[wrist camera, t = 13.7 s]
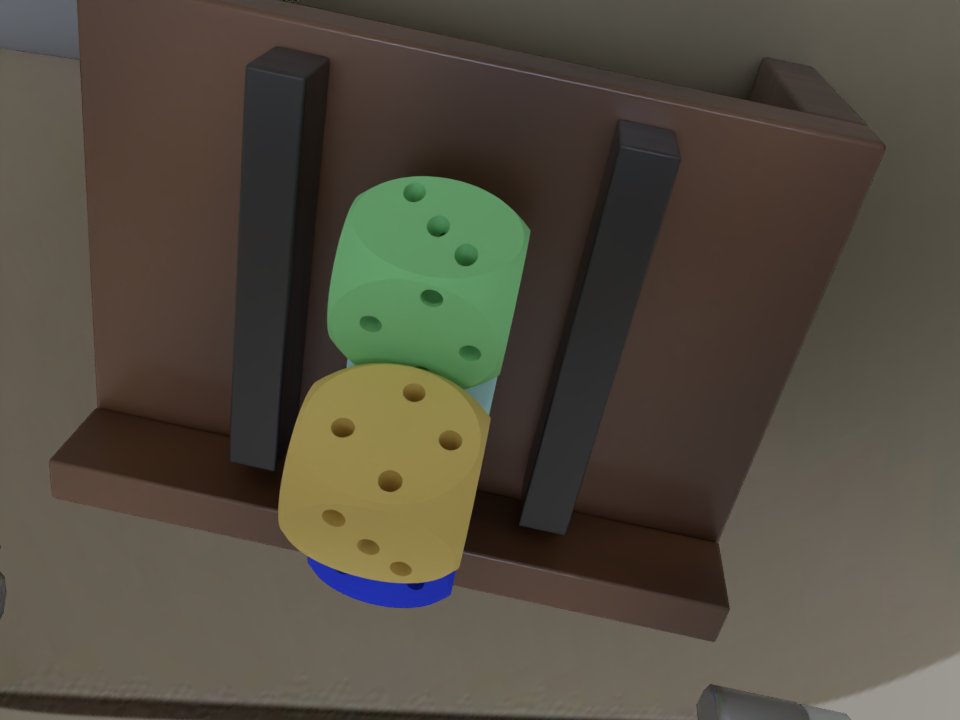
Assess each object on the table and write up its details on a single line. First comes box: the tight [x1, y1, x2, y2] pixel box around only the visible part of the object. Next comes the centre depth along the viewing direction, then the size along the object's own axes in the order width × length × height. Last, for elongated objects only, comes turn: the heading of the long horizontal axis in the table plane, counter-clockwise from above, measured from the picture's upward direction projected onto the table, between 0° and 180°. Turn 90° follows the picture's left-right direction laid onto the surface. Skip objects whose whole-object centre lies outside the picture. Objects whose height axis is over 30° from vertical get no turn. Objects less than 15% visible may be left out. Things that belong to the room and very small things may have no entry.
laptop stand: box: [49, 0, 886, 642], centre depth 19 cm, size 14×10×8 cm
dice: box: [278, 176, 531, 608], centre depth 15 cm, size 8×3×6 cm, turn 170°
